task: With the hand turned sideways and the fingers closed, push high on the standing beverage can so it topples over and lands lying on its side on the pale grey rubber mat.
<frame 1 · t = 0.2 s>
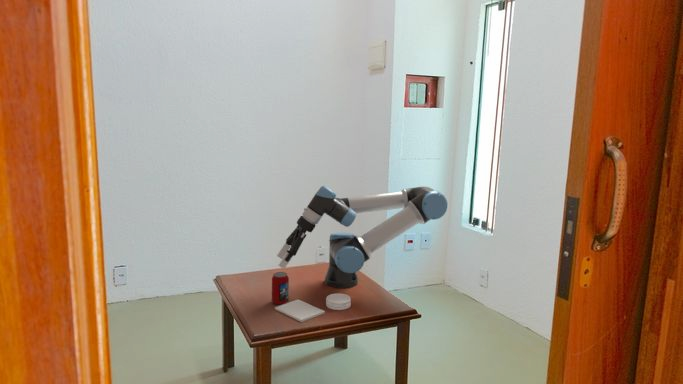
hand: (280, 262, 202), 15 cm above the table, tool tilted 35°, fingers open, 13 cm apart
mat: (299, 311, 190), on the table
beverage can: (280, 302, 198), on the table
coaster: (338, 306, 197), on the table
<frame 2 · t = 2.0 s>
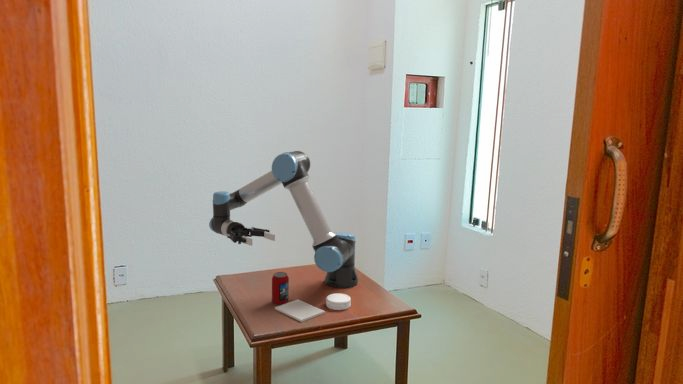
hand: (263, 239, 201), 24 cm above the table, tool horizontal, fingers open, 11 cm apart
nothing on the table moved.
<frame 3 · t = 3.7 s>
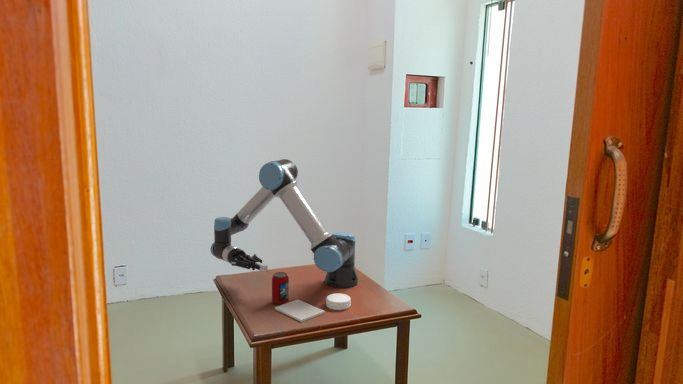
hand: (265, 269, 203), 12 cm above the table, tool horizontal, fingers closed
nothing on the table moved.
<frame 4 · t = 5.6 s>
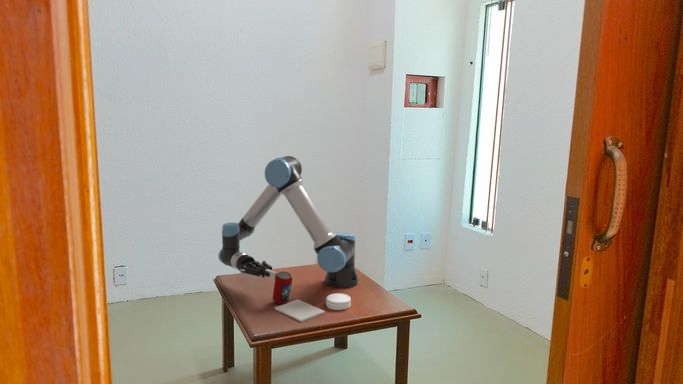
hand: (276, 276, 197), 11 cm above the table, tool horizontal, fingers closed
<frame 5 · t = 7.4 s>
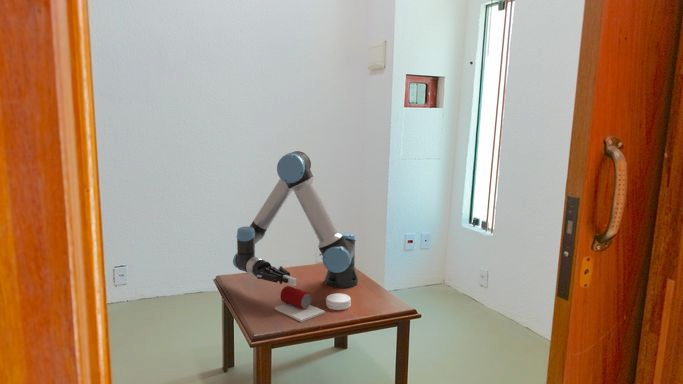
hand: (294, 282, 190), 11 cm above the table, tool horizontal, fingers closed
beverage can: (284, 293, 197), point 4 cm above the table, touching mat
everything else where it was.
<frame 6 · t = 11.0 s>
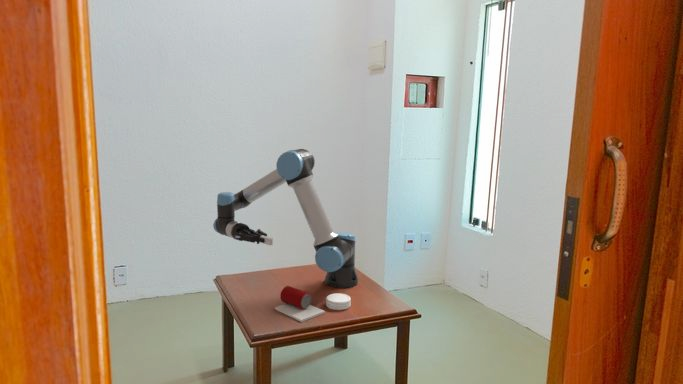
hand: (271, 241, 198), 24 cm above the table, tool horizontal, fingers closed
nothing on the table moved.
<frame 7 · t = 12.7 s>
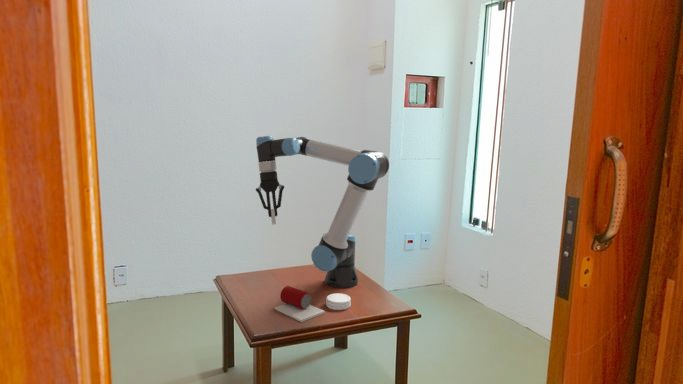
hand: (274, 223, 217), 27 cm above the table, tool pointing down, fingers closed
nothing on the table moved.
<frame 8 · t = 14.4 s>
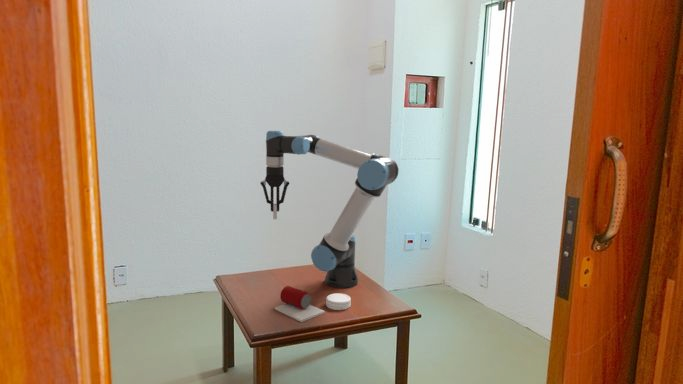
hand: (275, 218, 217), 29 cm above the table, tool pointing down, fingers closed
nothing on the table moved.
at the end: beverage can tilted 90°; beverage can touching mat; the gripper is holding nothing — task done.
